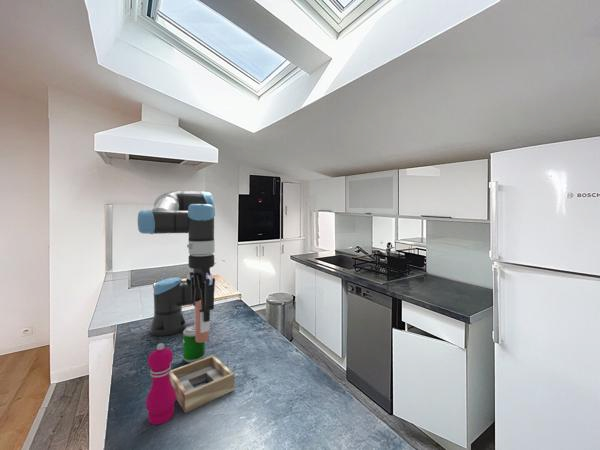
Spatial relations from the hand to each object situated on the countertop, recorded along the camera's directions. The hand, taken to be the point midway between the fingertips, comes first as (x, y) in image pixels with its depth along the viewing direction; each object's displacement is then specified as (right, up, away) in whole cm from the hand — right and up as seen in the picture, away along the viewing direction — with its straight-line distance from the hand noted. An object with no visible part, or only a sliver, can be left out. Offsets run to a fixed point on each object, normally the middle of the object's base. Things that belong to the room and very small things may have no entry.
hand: (202, 328), depth 85 cm
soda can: (-9, -18, +17) cm, 27 cm away
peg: (0, -4, 0) cm, 4 cm away
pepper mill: (-7, -20, -11) cm, 24 cm away
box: (0, -19, 0) cm, 19 cm away
